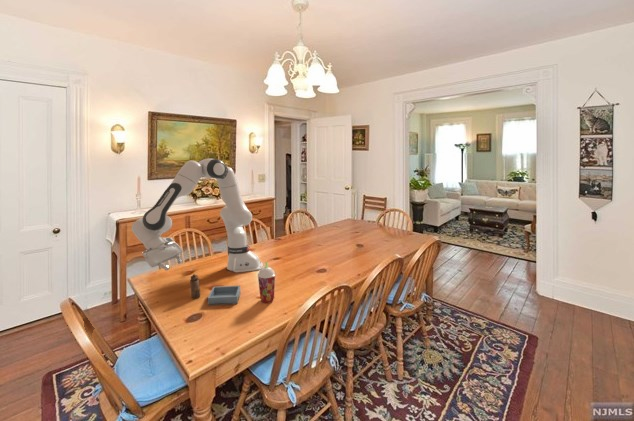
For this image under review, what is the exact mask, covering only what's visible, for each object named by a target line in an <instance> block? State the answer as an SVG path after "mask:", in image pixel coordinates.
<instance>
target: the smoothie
mask: <svg viewBox="0 0 634 421" xmlns="http://www.w3.org/2000/svg"><path fill="white" fill-rule="evenodd" d="M267 263H268V261H265V266H263V268H262V269H260V270H258V271H259V272H258V273H257V279H258V280H257V281H258V291H259V298H260V301H261V302H262V303H264V304H270V303H273V301H274V299H275V289H276V287H275V286H276V272H275V271H274V269H273V268H271V267H270V266H268V264H267Z"/></svg>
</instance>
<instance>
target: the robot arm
mask: <svg viewBox="0 0 634 421" xmlns="http://www.w3.org/2000/svg"><path fill="white" fill-rule="evenodd" d="M201 178H205V179H215V180H216V181H217V185H218V188H219V194H220V196H221V197H220V198H221V200H222V201H223V203H224V204H225V206H223V207H222V208H221V209H220V212H219V216H220V218H221V219H222V221H223V224H224V226H225V227H224V228H225V229H226V230H225V231H226V234H227V255H228V258H227V265H226V269H227V270H228V271H231V272H233V273H243V272H252V271H253V272H255V271H260V270H261V269H262V268H264V263H263V262H262V261H261V260H260V257H259V256H258V254H256V253H255V252H253V251H251V246H250V245H248V244H247V233H246V230H245V229H244V226H245V227H246V226H249V224H251V222H252V220H253V214H252V212H251V211H250V210H249V209H248V207H247V205H246V203H245V202H244V200H243V197H242V195H241V191H240V187H239V184H238V180H237V177H236V173H235V171H234V170H233V169H232V167H230V166H227V165H226V164H225V163H224V162H223V161H222V160H221V159H217V158H211V157H210V158H202V159H199V160H198V161H196V160H187V161H186V162H185V163H184V164H183V165H182V167H180V169H179V170H178V172H177V173H176V175H175V177H174V178H173V179H172V181H171V183H170V184H169V185H168V186H167V188H166V189H165V191H164V192H163V193H162V195H161V196H160V197H159V199H158V200H157V201H156V203H155V204H154V205H153V207H151V208H150V209H148V210H147V211H146V212H144V214H143V216H142V217H140V218H138V219H136V220H135V221H134V222H133V223H132V225H131V231H132V234H133V235H134V236H135V237H136V238H137V240H138V242H141V243H142V244H143V246H144V248H145V250H143V251H142V254H141V255H142V256H143V258H144V260H145V262H146V263H147V264H148V265H149V267H150V268H156V267H157V266H158V267H159V268H161V269H163V270H164V271H168V270H170V268H171V267H170V266H169V265H168V264H164V263H167V262H168V261H170V260H172V259H177V261H176V263H178V264H179V265H181V264H182V263H183V260H182V258H181V254H182V253H183V249H182V247H181V246H180V245H179V244H178V243H177V242H176V241H174V238H173V237H162V235H163V234H165V233H166V232H168V231H170V230H171V228H172V227H173V219H172V218H171V217H170V216H169V215H167V213H168V211H169V210H170V209H171V207H172V206H173V204H174V203H175V201H176V200H177V199H178V198H180V197H185V196H189V195H190V194H191V193H192V192H193V191H194V190H195V188H196V187H197V184H198V183H199V181H200V180H201Z"/></svg>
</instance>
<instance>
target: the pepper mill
mask: <svg viewBox="0 0 634 421" xmlns="http://www.w3.org/2000/svg"><path fill="white" fill-rule="evenodd" d="M189 282H190V296H191V299H193V300H196V299H199V298H200V297H201V292H200V280H199V277H198V275H197V274H192V275H191V276H190V280H189Z"/></svg>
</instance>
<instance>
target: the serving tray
mask: <svg viewBox="0 0 634 421" xmlns="http://www.w3.org/2000/svg"><path fill="white" fill-rule="evenodd" d="M241 290H242V289H241V285H226V286H225V285H224V286H212V288H211V290H210V293H209V295H208V297H207V306H220V305H221V306H224V305H237V304H238V303H239V299H240V296H241Z"/></svg>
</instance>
